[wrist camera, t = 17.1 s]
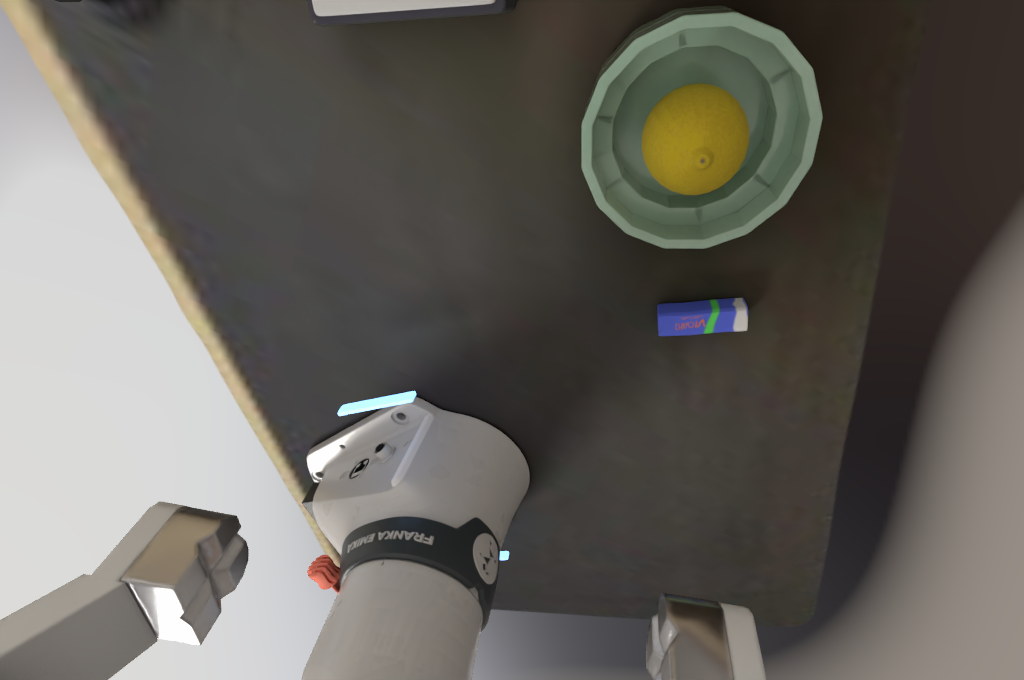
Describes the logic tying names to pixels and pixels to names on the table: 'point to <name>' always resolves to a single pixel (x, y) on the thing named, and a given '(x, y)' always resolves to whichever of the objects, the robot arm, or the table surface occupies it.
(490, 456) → the robot arm
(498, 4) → the calculator
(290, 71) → the table surface
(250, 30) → the table surface
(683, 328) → the eraser
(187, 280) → the table surface
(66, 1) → the coffee cup
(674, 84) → the bowl
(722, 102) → the lemon
